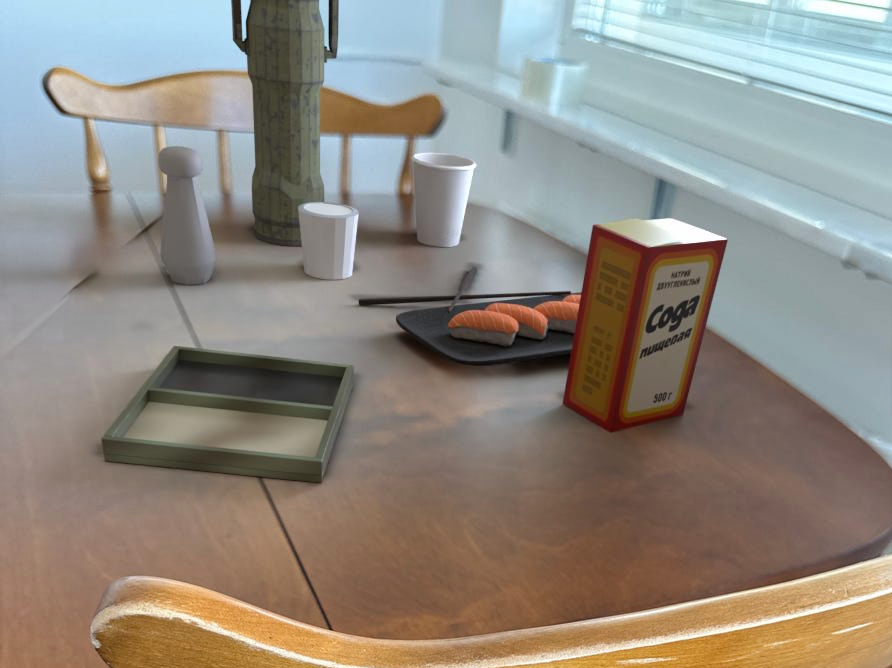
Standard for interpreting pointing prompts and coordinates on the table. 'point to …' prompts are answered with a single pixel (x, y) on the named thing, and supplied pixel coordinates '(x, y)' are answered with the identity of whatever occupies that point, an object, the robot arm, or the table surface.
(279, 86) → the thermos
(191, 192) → the salt shaker
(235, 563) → the table surface
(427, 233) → the dixie cup
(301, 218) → the white faceted cup
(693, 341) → the baking soda box
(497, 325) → the sushi plate
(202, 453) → the sorting tray
